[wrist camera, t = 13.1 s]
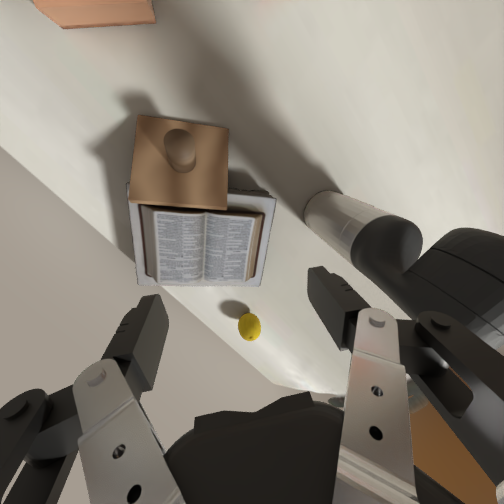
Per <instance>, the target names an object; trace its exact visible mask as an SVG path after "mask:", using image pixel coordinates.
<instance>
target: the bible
mask: <svg viewBox="0 0 504 504" xmlns="http://www.w3.org/2000/svg"><path fill="white" fill-rule="evenodd" d="M129 187H130V183H127V184H126V188H127V199H128V196H129ZM128 205H129V216H130V222H131V231H132V237H133V248H134V255H135V263H136V275H137V283H138V285H157V286H160V285H165V286H251V287H259V286H260V284H261V280H262V275H263V269H264V264H265V259H266V253H267V247H268V242H269V237H270V231H271V227H272V222H273V217H274V212H275V206H276V198H273V197H272V196H271V195H269V192H268V191H259V190H257V191H254V190H252V191H247V190H239V189H236V188H235V189H233V188H228V191H227V210H216V209H203V208H190V207H177V206H164V205H151V204H137V203H131V202H130V201H129V200H128Z"/></svg>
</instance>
